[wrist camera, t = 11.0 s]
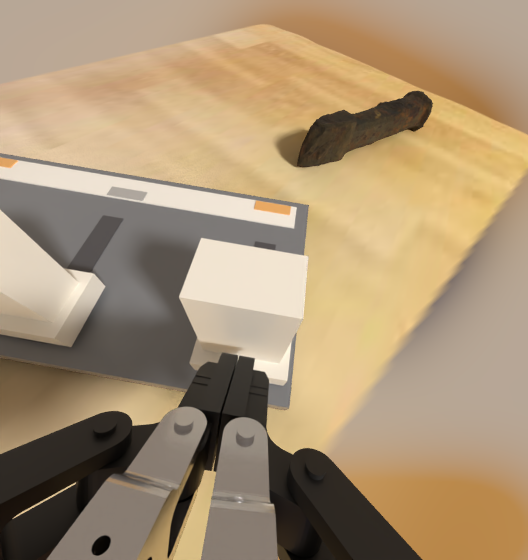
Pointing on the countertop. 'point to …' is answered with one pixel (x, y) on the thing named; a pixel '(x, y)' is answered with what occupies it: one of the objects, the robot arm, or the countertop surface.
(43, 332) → the middle tab
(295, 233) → the switch bank
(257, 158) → the countertop surface
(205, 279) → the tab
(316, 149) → the hand tool
